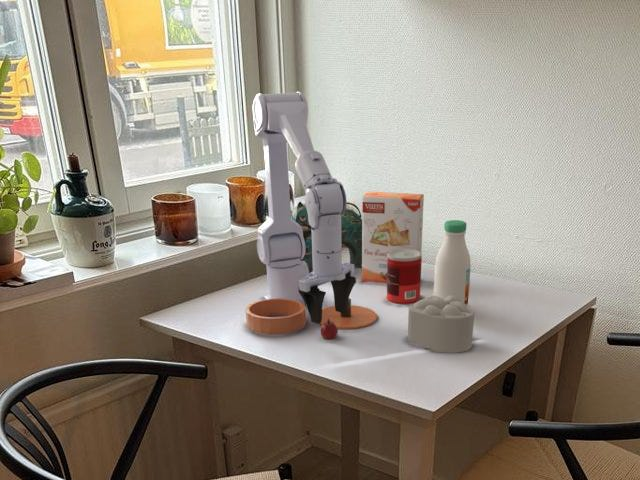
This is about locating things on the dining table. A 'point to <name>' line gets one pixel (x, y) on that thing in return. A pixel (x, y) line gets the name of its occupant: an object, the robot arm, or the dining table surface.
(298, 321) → the pot
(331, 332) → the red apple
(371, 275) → the cracker box
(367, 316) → the lid
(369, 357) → the dining table surface
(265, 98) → the robot arm
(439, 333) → the lumpy-topped squat cylinder
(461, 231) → the milk bottle
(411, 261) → the canned food
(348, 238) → the ceramic cat
